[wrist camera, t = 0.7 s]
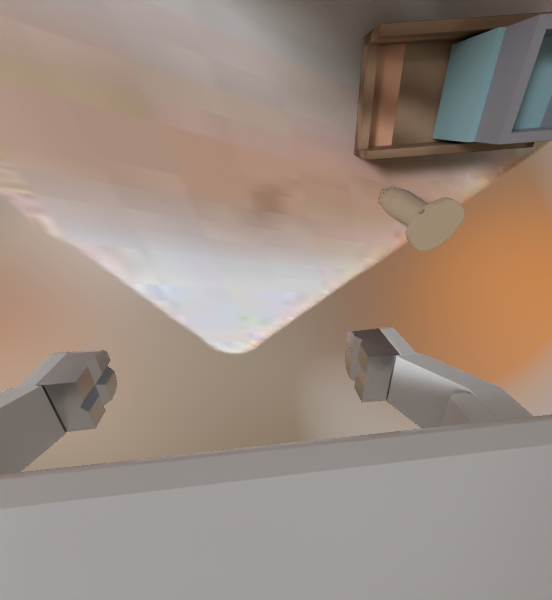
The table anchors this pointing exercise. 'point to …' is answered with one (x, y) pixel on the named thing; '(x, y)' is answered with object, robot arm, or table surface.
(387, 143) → the bay
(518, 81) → the box
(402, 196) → the handle
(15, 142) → the table surface
